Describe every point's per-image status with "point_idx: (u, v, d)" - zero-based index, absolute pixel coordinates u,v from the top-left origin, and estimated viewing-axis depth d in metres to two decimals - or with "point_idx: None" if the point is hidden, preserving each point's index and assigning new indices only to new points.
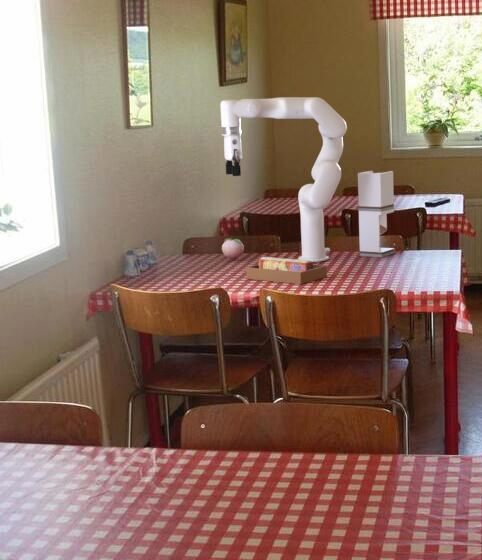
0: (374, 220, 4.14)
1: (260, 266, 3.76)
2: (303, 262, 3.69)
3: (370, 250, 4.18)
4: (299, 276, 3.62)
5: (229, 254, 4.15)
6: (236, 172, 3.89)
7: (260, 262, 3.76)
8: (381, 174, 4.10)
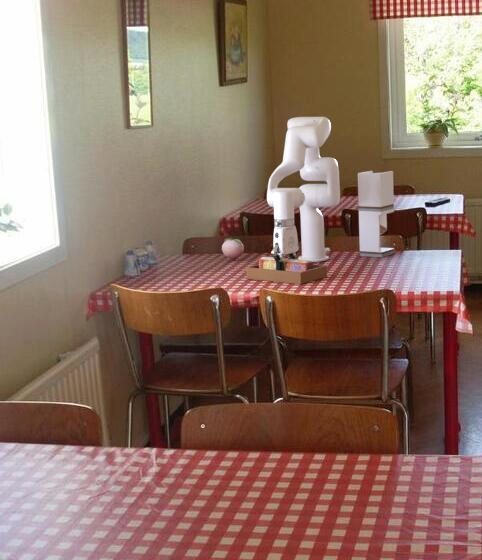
0: (374, 220, 4.14)
1: (260, 266, 3.76)
2: (303, 262, 3.69)
3: (370, 250, 4.18)
4: (299, 276, 3.62)
5: (229, 254, 4.15)
6: (277, 268, 3.71)
7: (260, 262, 3.76)
8: (381, 174, 4.10)
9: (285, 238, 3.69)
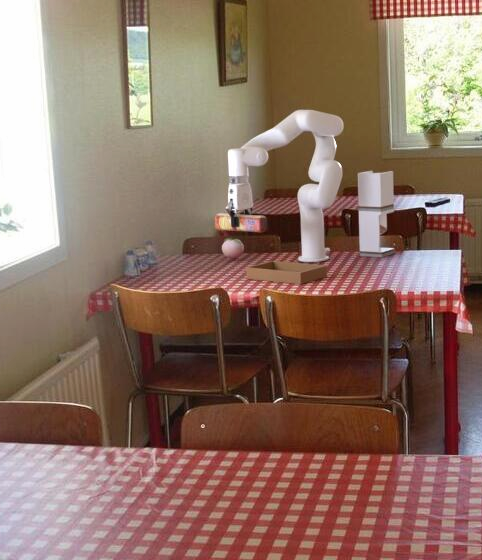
0: (374, 220, 4.14)
1: (216, 222, 3.91)
2: (257, 217, 3.84)
3: (370, 250, 4.18)
4: (299, 276, 3.62)
5: (229, 254, 4.15)
6: (232, 223, 3.86)
7: (216, 218, 3.91)
8: (381, 174, 4.10)
9: (239, 194, 3.83)
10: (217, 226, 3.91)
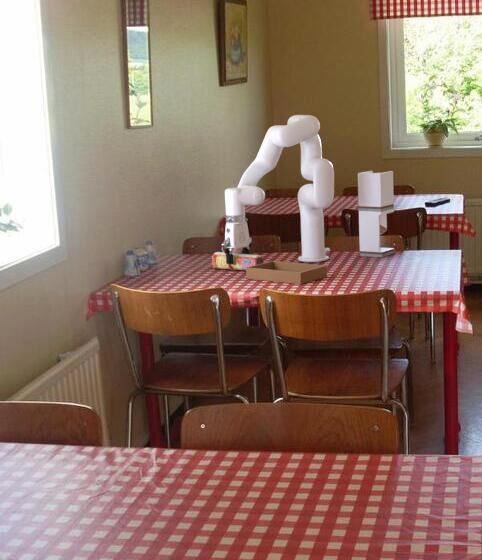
0: (374, 220, 4.14)
1: (213, 261, 3.96)
2: (253, 257, 3.89)
3: (370, 250, 4.18)
4: (299, 276, 3.62)
5: None
6: (227, 260, 3.90)
7: (213, 257, 3.96)
8: (381, 174, 4.10)
9: (236, 233, 3.88)
10: (214, 265, 3.96)
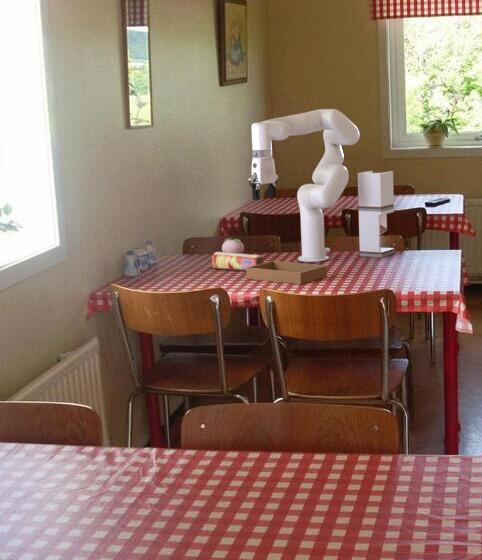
0: (374, 220, 4.14)
1: (213, 261, 3.96)
2: (253, 257, 3.89)
3: (370, 250, 4.18)
4: (299, 276, 3.62)
5: None
6: (254, 196, 3.85)
7: (213, 257, 3.96)
8: (381, 174, 4.10)
9: (263, 168, 3.83)
10: (214, 265, 3.96)
